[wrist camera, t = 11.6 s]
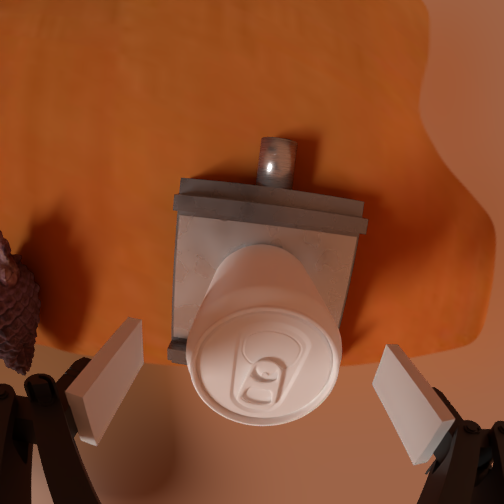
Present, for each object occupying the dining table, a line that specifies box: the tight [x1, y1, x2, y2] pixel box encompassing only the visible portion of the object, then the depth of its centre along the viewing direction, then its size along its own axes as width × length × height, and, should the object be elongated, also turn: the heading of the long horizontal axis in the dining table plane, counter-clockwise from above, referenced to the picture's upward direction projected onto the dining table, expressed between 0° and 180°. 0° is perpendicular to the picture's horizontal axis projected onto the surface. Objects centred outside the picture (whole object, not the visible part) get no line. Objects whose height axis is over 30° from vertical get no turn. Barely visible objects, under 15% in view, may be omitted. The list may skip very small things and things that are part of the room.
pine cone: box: [0, 231, 41, 375], centre depth 24 cm, size 18×10×10 cm, turn 177°
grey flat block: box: [168, 137, 368, 365], centre depth 26 cm, size 23×15×4 cm, turn 173°
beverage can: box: [186, 244, 342, 426], centre depth 19 cm, size 8×8×12 cm
